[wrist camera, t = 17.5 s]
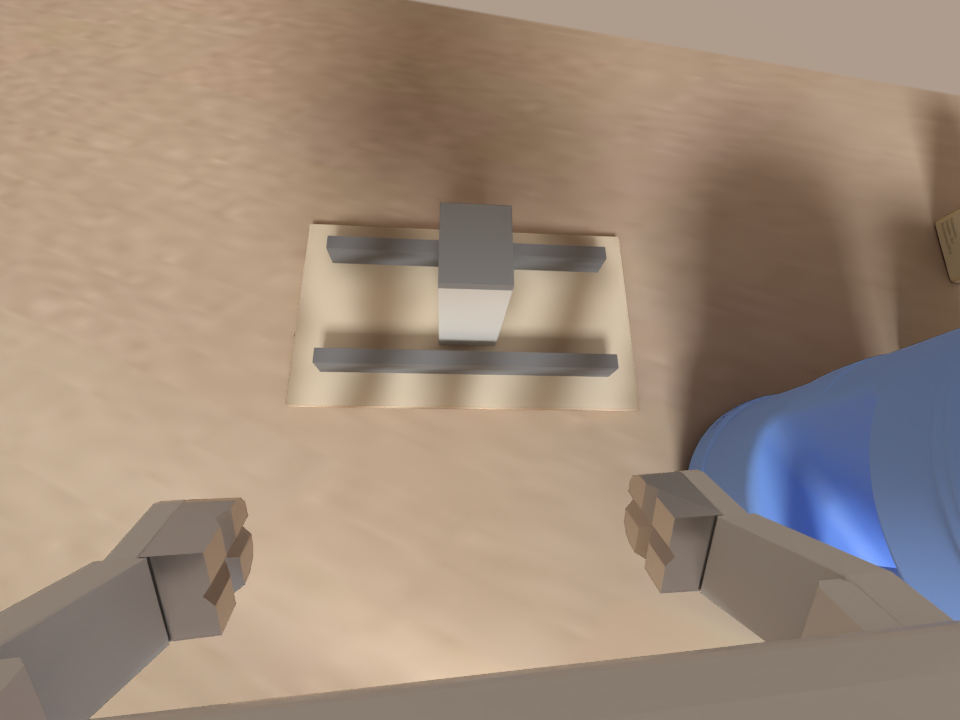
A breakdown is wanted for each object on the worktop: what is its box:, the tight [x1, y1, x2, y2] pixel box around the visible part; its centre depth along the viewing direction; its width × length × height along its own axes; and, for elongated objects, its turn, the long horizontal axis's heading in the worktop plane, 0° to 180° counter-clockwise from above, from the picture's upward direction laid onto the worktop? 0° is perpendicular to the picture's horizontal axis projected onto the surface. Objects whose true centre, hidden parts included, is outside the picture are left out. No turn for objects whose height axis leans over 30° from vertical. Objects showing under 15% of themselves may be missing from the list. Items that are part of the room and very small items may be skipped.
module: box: [438, 202, 514, 346], centre depth 29 cm, size 4×5×9 cm
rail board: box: [285, 224, 639, 411], centre depth 32 cm, size 24×14×3 cm, turn 90°
